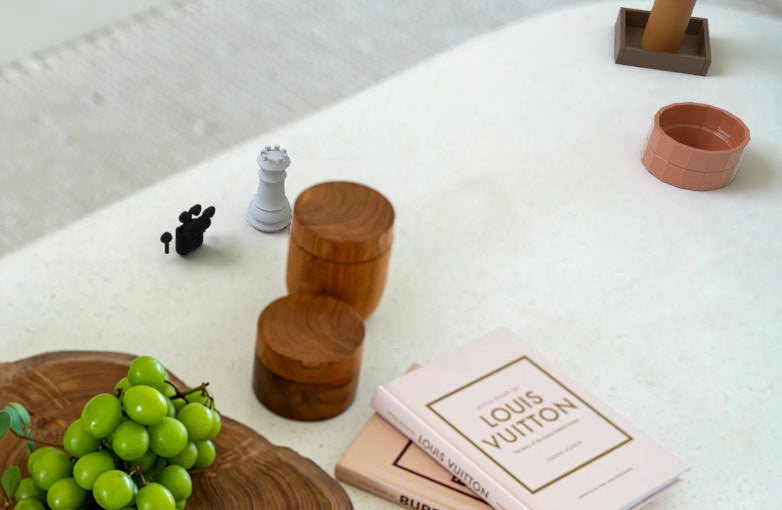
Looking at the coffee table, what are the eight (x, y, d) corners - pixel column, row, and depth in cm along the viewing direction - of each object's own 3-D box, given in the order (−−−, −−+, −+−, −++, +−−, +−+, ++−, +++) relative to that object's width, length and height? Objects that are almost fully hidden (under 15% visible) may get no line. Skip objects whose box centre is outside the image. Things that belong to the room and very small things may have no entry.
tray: (700, 37, 140) (708, 18, 138) (704, 80, 133) (711, 60, 131) (614, 25, 142) (620, 6, 140) (613, 67, 135) (619, 47, 133)
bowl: (730, 150, 123) (747, 109, 120) (735, 201, 117) (753, 159, 114) (639, 136, 125) (653, 96, 121) (639, 185, 119) (654, 144, 115)
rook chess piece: (240, 211, 115) (244, 143, 110) (281, 203, 116) (287, 135, 110) (255, 237, 112) (260, 169, 107) (297, 229, 113) (305, 161, 108)
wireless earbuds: (209, 231, 113) (210, 189, 109) (227, 243, 112) (229, 201, 108) (157, 262, 110) (156, 219, 106) (174, 274, 108) (175, 232, 105)
